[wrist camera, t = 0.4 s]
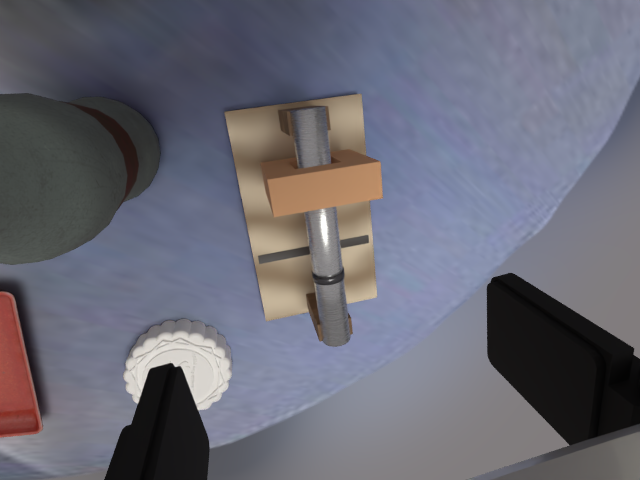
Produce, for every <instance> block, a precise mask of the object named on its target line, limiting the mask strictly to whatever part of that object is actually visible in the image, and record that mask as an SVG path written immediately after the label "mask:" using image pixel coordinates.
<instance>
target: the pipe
mask: <svg viewBox="0 0 640 480" xmlns="http://www.w3.org/2000/svg"><path fill="white" fill-rule="evenodd" d="M290 115H291V122H292V129H293V137H294V144H295V151H296V159H297V166H298V169H301V168H307V167H313V166H319V165H326V164H331V155H330V146H329V136H328V127H327V118H326V109H325V106H324V107H314V108H305V109H298V110H292V111H290ZM304 215H305V222H306V229H307V236H308V243H309V250H310V257H311V264H312V279H313V282H314V286H315V293H316V300H317V307H318V314H319V321H320V327H321V334H322V341H323V343H324V344H326V345H328V346H332V347H337V346H342V345H344V344H346V343H347V342H348V341H349V340H350V328H349V319H348V309H347V300H346V291H345V282H344V278H345V273H344V267H343V264H342V255H341V246H340V237H339V227H338V218H337V209H336V206H335V207H330V208H324V209H318V210H313V211H307V212H304Z"/></svg>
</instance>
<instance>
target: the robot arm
mask: <svg viewBox="0 0 640 480" xmlns="http://www.w3.org/2000/svg"><path fill="white" fill-rule="evenodd" d="M487 345H488V346H487V352H488V358H489V360H490V362H491V364H492V365H493V367H494V368H496V370H497V371H498V372H499V373H500V374H501V375H502V376H503V377H504V378H505V379H506V380H507V381H508V382H509V383H510V384H511V385H512V386H513V387H514V388H515V389H516V390H517V391H518V392H519V393H520V394H521V395H522V396H523V397H524V398H525V400H527V402H528V403H529V404H530V405H531V406H532V407H533V408H534V409H535V410H536V411H537V412H538V413H539V414H540V415H541V416H542V417H543V418H544V419H545V420H546V421H547V422H548V423H549V424H550V425H551V426H552V427H553V428H554V429H555V430H556V431H557V433H558V434H560V436H561V437H563V439H564V440H565V441H566V442H567V443H568V444H569V445H570V446H567V447H564V448H561V449H558V450H555V451H552V452H549V453H546V454H543V455H540V456H537V457H534V458H531V459H528V460H524V461H521V462H518V463H515V464H512V465H509V466H506V467H503V468H500V469H497V470H494V471H491V472H488V473H485V474H482V475H479V476H476V477H473V478H470V479H467V480H640V359H639V358H638V357H636V356H634V355H633V352H634V348H633V347H631V346H629V345H628V344H626V343H625V342H623V341H621V340H620V339H618V338H617V337H615V336H613V335H612V334H610V333H608V332H607V331H605V330H603V329H602V328H601V327H599V326H597V325H596V324H594V323H593V322H591V321H589V320H588V319H586V318H584V317H583V316H581V315H580V314H578V313H576V312H575V311H573V310H571V309H570V308H568V307H567V306H565V305H563V304H562V303H560V302H559V301H557V300H555V299H554V298H552V297H551V296H549V295H547V294H546V293H544V292H543V291H541V290H539V289H538V288H536V287H534V286H533V285H531V284H530V283H528V282H526V281H524V280H523V279H522V278H520V277H518V276H517V275H515V274H513V273H508V274H505V275H501V276H497V277H493V278H492V280H491V283H489V284H488V286H487ZM208 462H209V440H208V436H207V433H206V430H205V428H204V425H203V422H202V420H201V417H200V414H199V412H198V409H197V406H196V404H195V401H194V398H193V396H192V393H191V390H190V388H189V385H188V383H187V380H186V377H185V375H184V372H183V369H182V368H181V366H178V367H175V366H174V365H173V363H168V364H164V365H161V366H157V367H153V368H151V369H150V370H149V372H148V375H147V378H146V381H145V384H144V387H143V390H142V393H141V396H140V399H139V402H138V405H137V408H136V411H135V415H134V418H133V421H132V424H131V425H128V426H126V427H124V428H123V430H122V432H121V434H120V436H119V439H118V442H117V445H116V448H115V451H114V454H113V457H112V459H111V462H110V465H109V468H108V471H107V474H106V477H105V479H104V480H207V474H208Z"/></svg>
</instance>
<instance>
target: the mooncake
mask: <svg viewBox="0 0 640 480" xmlns="http://www.w3.org/2000/svg"><path fill="white" fill-rule="evenodd" d="M168 363H173V365H174V366H175V367H178V366H181V368H182V369H183V372H184V375H185V377H186V380H187V383H188V385H189V388H190V390H191V393H192V396H193V398H194V401H195V404H196V406H197V409H198V411H199V409H200V410H205V409H208V408H209V407H210V406H211V404H212V402H216V401H218V400H219V399H220V398H221V396H222V392H224V391H226V390H227V388H228V386H229V379H230V378H231V376H232V359H231V349H230V347H229V346H228V345H226V339H225V337H224V336H222V335H220V334H217V330H216V329H215V328H214V327H211V326H207V327H206V326H205V324H204V323H203V322H201V321H194V322H191V321H189V320H188V319H180V320H178V321H177V322H175V321H172V320H168V321H165V322H163V323H162V325H161V326H160V325H155V326H152V327H151V328H150V329H149V330H148V332H147V333H145V334H142V335H141V336H139V338H138V340H137V342H136V345H134V346H133V347H132V349H131V351H130V354H129V356H128V358H127V361H126V369H125V371H124V374H123V377H124V380H125V381H126V382H127V384H126V390H127V392H129V393H130V394H133V395H132V398H133V400H134V402H136V403H138V402H139V399H140V396H141V393H142V390H143V387H144V384H145V381H146V378H147V375H148V372H149V370H150V369H151V368H153V367H157V366H161V365H164V364H168Z"/></svg>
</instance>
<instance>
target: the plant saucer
mask: <svg viewBox="0 0 640 480" xmlns="http://www.w3.org/2000/svg"><path fill="white" fill-rule="evenodd" d="M42 429H43V424H42V419H41V414H40V410H39V405H38V401H37V396H36V392H35V387H34V383H33V378H32V374H31V369H30V364H29V360H28V355H27V351H26V346H25V342H24V337H23V332H22V328H21V323H20V318H19V314H18V309H17V305H16V300H15V297H14V295H13V294H12V293H9V292H6V291H0V437H11V436H22V435H31V434H37V433H39V432H41V431H42Z"/></svg>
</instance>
